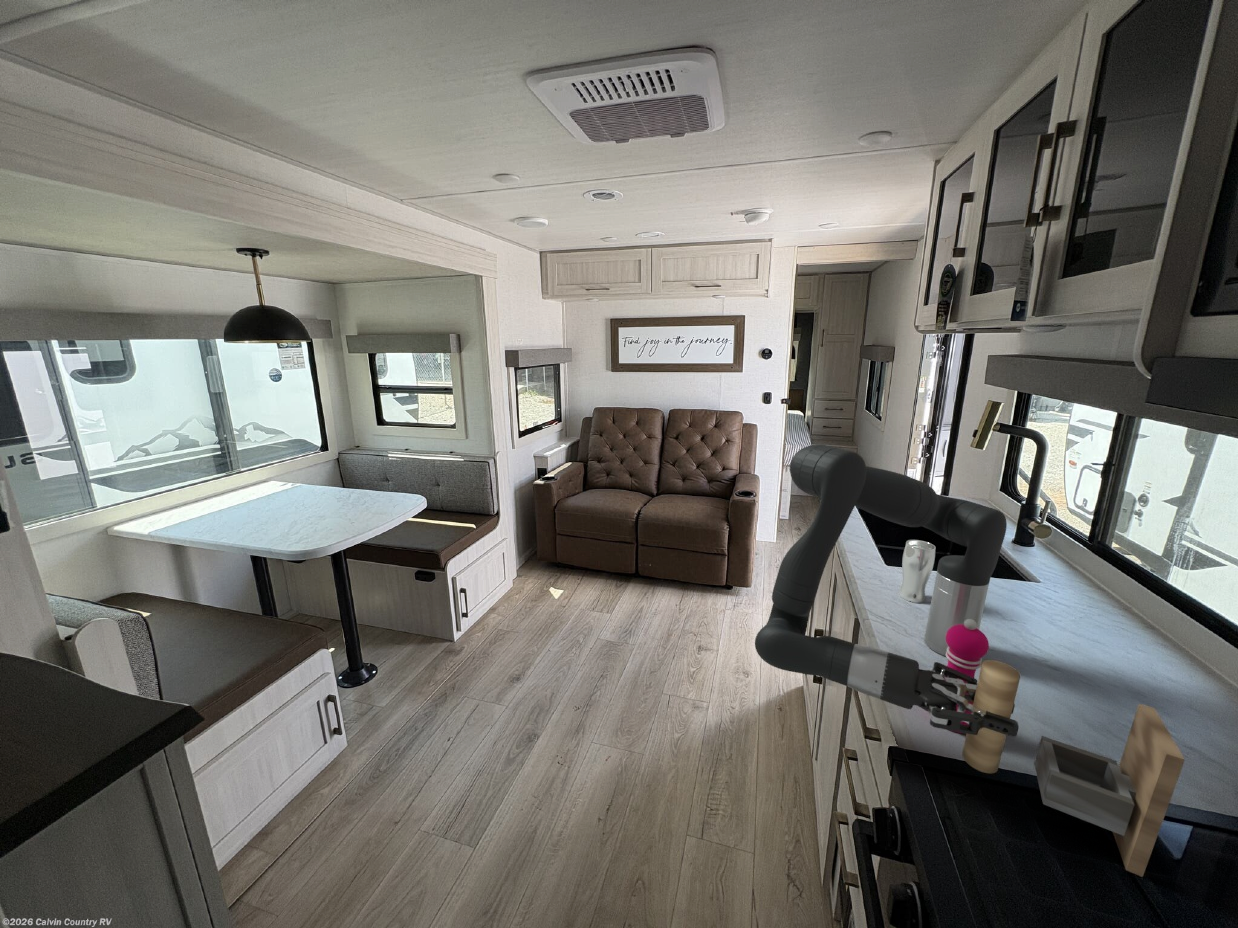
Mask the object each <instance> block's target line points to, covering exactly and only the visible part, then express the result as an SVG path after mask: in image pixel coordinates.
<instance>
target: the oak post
mask: <svg viewBox="0 0 1238 928" xmlns="http://www.w3.org/2000/svg"><path fill="white" fill-rule="evenodd" d="M1020 679H1021V673H1020V672H1019V671H1018V670H1017V669H1016V668H1015V667H1013V666H1011V665H1009V664H1008V663H1005V662H1003V661H999V660H994V659H985V660H982V662H981V667H980V670H979V676H978V679H977V688H976V693H975V697H974V702H973V706H975V707H977V708H979V709H982V710H983V711H985V713H986V711H988V712H991V713H994V714H997V715H1000V716H1003V717H1007V718H1010V719H1011V717H1012V714H1011V713H1012V709H1013V705H1014V704H1015V701H1016V696H1017V692H1018V688H1019V683H1020ZM971 714H973V713H971ZM965 734H966V735H965V739H964V744H963V749H962V758H963V760H964V761H965V762H966V764H968V765H969V766H970V767H972V768H973V769H975V770H977V771H978V772H981V773H986V774H995V773H997V772H998V770H999V766H1000V762H1001V757H1002V755H1003V749H1004V745H1005V741H1006V737H1007V735H1005V734H1003V733H999V732H996V731H993V730H990V729H987V728H982V729H980V730H979V731H978V734H977V735H972V734H967V733H965Z"/></svg>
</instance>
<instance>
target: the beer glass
mask: <svg viewBox="0 0 1238 928" xmlns="http://www.w3.org/2000/svg"><path fill="white" fill-rule="evenodd" d="M935 558H936V546H935V545H934V544H932V543H931V542H928V541H925V540H919V539H908V540H906V542H905V547H904V550H903V554H902V560H901V561H902V563H901V566H902V567H901V568H902V569H901V570H902V572H901V573H902V581H901V582H902V583H901V586H900V589H899V590H898V596H899V595H900V596H899V598H901V597H902V598H901V599H903V598H904V599H903V600H904V601H908V602H910V601H911V602H910V603H916V604H922V603H924V602H926V587H927V583H928V581H929V579H930V577H931V574H932V572H933V568H934V566H935V565H934V564H935Z"/></svg>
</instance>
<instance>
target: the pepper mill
mask: <svg viewBox="0 0 1238 928" xmlns="http://www.w3.org/2000/svg"><path fill="white" fill-rule="evenodd" d="M946 643H947V645H948V646H949V647H948V648H947V652H946V656H945V657H946V658H947V665H946V666H948V667H950V668H952V669H955V670H957V671H959V672H961V673H964V674H966V675H968V676H971V677H973V678H975V675H976V671H977V670H978V669H981V665H982V662H983V659H982V658H983V657H984V656H986V655H987V654H988V652H989V648H990V643H989V640H988V637H987V636H986V634H984V632H983V631H982V630H980V628H979V629H977V623H976V622H975V621H974V620H972V619H967V620H965V622H964V624H959V625H954V626H952V627H951V628H950V629H949V630H948V631H947V634H946ZM948 677H949V676H948ZM960 680H962V679H960ZM963 681H964V680H963ZM964 683H967V682H966V681H964ZM965 694H966V695H969V694H967V693H965ZM968 703H969V704H971V705H973V703H970V702H968ZM957 710H958V704H957V708H956V711H957ZM965 713H968V714H971V712H969V711H967V710H965ZM961 724H964V725H969V724H968V723H966V722H964V721H962V722H961ZM949 731H951V730H949ZM951 732H952V731H951ZM954 732H955V733H959V734H963V733H962V732H956V731H953V733H954Z"/></svg>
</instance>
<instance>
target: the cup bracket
mask: <svg viewBox="0 0 1238 928" xmlns="http://www.w3.org/2000/svg"><path fill="white" fill-rule="evenodd" d="M1128 733H1129V734H1128V737H1127V739H1126V743H1125V745H1124V749H1123V752H1122V756H1121V758H1120V762H1119V765H1118V762H1117V760H1115V759H1112V758H1110V757H1107V756H1104V755H1100V754H1097V753H1094V752H1091V751H1088V750H1086V749H1082V748H1079V747H1077V746H1075V745H1074V746H1073V745H1071V744H1068V743H1064V742H1061V741H1058V740H1055V739H1054V738H1050V737H1047V736H1044V735H1041V736H1040V741H1039V744H1038V748H1037V752H1036V755H1035V758H1034V763H1033V764H1034V770H1035V773H1036V778H1037V783H1038V788H1039V791H1040V796H1041V800H1042V804H1043V805H1044V806H1046V807H1050V808H1052V809H1054V810H1057V811H1060V812H1061V813H1065V814H1067V815H1070V816H1072V817H1075V818H1077V819H1080V820H1082V821H1084V822H1087V823H1090V824H1092V825H1095V826H1098V827H1100V828H1102V829H1106V830H1108V831H1109V832H1110V831H1111V832H1112V834H1113V836H1114V839H1115V843H1116V845H1117V848H1118V850H1119V851H1118V852H1119V853H1120V857H1121V860H1122V862H1123V866H1124V868H1125V870H1126V871H1127V872H1129V873H1132V874H1135V875H1137V876H1139V877H1141V878H1143V877H1144V874H1145V872H1146V868H1147V866H1148V864H1149V862H1150V858H1151V856H1152V852H1153V849H1154V847H1155V845H1156V844H1155V843H1156V841H1157V838H1158V836H1159V832H1160V830H1161V827H1162V824H1163V822H1164V819H1165V816H1166V813H1167V811H1168V808H1169V805H1170V802H1171V799H1172V797H1173V794H1174V790H1175V789H1176V786H1177V783H1178V780H1179V777H1180V774H1181V772H1182V768H1183V766H1184V763H1185V761H1186V759H1185V758H1184V756H1183V754H1182V752H1181V750H1180V749H1179V747H1178V746H1177V743H1176V742H1175V740H1174V738H1173V737H1172V735H1171V733H1170V732H1169V730H1168V728H1167V726H1166V725H1165V723H1164V721H1163V720H1162V718H1161V717H1160V714H1159V713H1158V712H1157V709H1156V708H1155V707H1152V706H1149V705H1145V704H1141V703H1138V705H1137V709H1136V711H1135V715H1134V718H1133V721H1132V724H1131V727H1130V730H1129V732H1128Z"/></svg>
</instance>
